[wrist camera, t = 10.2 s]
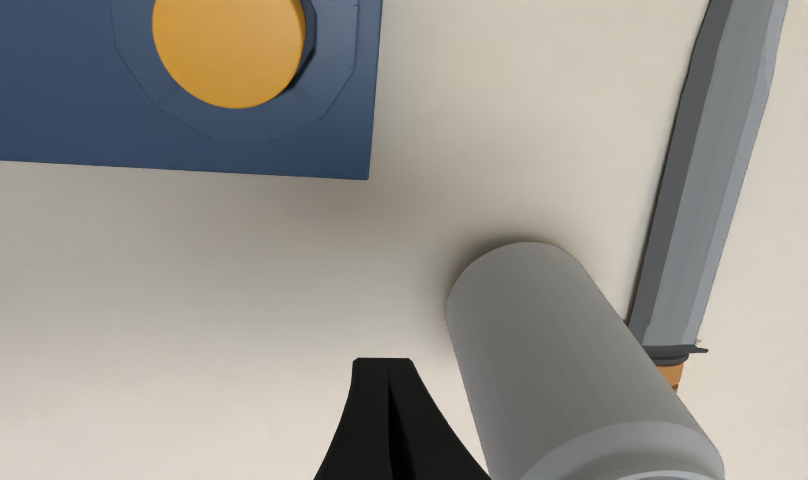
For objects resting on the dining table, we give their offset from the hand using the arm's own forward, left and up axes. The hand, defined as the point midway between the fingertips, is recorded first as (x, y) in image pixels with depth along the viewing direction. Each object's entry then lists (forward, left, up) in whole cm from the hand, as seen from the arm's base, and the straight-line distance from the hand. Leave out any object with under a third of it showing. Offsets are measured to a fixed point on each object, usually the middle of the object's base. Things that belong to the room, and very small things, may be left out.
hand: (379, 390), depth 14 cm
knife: (+14, -2, -11) cm, 18 cm away
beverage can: (+7, -4, -11) cm, 13 cm away
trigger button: (-4, +7, -7) cm, 11 cm away
